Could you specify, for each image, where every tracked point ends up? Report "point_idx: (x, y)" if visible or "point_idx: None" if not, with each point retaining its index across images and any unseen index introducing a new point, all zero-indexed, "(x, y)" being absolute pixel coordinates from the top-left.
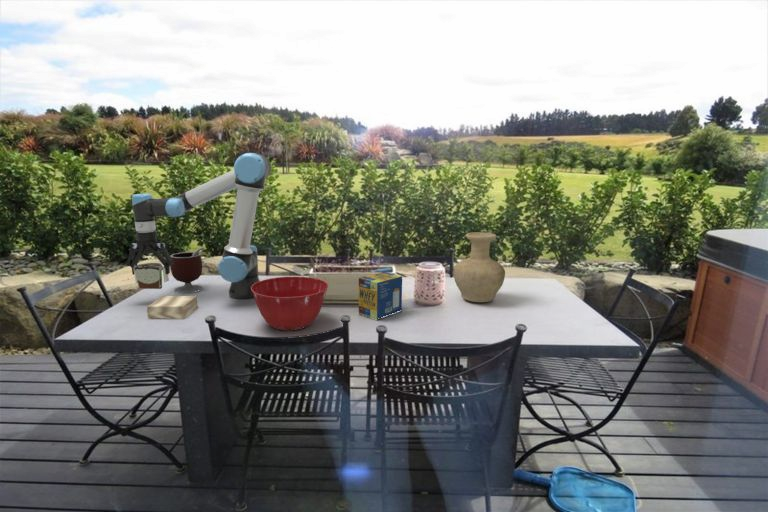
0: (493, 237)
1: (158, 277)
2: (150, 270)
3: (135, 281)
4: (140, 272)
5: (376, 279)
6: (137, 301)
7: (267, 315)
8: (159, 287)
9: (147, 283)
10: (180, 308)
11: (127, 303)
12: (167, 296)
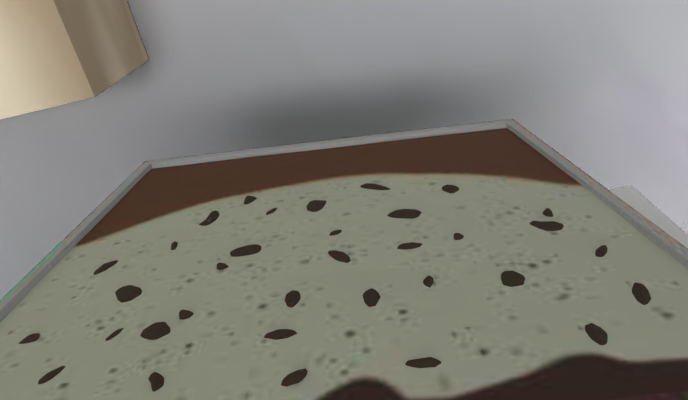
0: None
1: (67, 270)
2: (212, 372)
3: (641, 196)
4: (546, 293)
5: None
6: (587, 170)
7: None
8: (141, 170)
9: (354, 176)
10: None
11: (661, 85)
12: (17, 86)
